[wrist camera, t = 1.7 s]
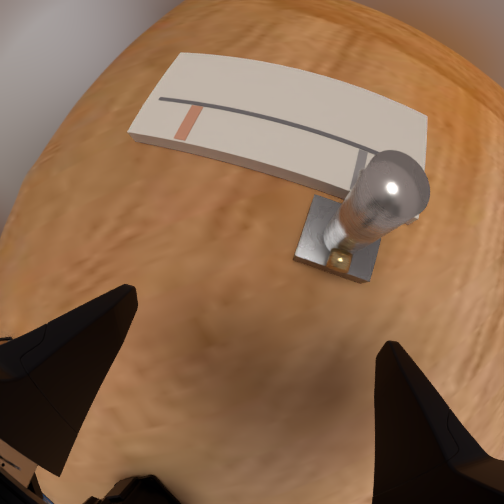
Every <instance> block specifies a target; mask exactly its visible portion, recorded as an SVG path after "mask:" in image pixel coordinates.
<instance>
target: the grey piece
mask: <svg viewBox="0 0 504 504" xmlns="http://www.w3.org/2000/svg"><path fill="white" fill-rule="evenodd" d="M429 197H430V186H429V182H428V178H427V176H426V174H425V172H424V170H423V169H422V167H421V166H420V165H419V164H418V163H417V162H416V161H415V160H414V159H413V158H412V157H410V156H409V155H407V154H405V153H403V152H400V151H396V150H385V151H381V152H379V153H377V154H376V155H375V156H374V157H373V158H372V159H371V161H370V162H369V164H368V165H367V167H366V168H365V169H364V168H361V169H360V170H359V174H358V179H357V182H356V183H355V185H354V186H353V188H352V189H351V191H350V192H349V194H348V195H347V197H346V198H345V200H344V201H343V203H342V204H341V203H338V202H335V201H332V200H330V199H327V198H324V197H321V196H318V195H314V198H313V200H312V203H311V206H310V209H309V212H308V215H307V218H306V221H305V225H304V228H303V231H302V234H301V237H300V240H299V243H298V246H297V249H296V252H295V255H294V258H293V260H294V261H297V262H300V263H303V264H306V265H308V266H311V267H314V268H317V269H320V270H323V271H326V272H329V273H331V274H334V275H337V276H340V277H343V278H346V279H349V280H351V281H354V282H357V283H365V282H370V279H371V275H372V272H373V268H374V264H375V261H376V257H377V253H378V249H379V245H380V241H381V237H383V236H385V235H386V234H388V233H389V232H391V231H393V230H394V229H396V228H398V227H399V226H401V225H402V224H404V223H406V222H407V221H409V220H410V219H412V218H413V217H415V216H417V215H418V214H420V213H421V212H422V211H423V210H424V209H425V208H426V206H427V204H428V201H429Z"/></svg>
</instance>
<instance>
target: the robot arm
mask: <svg viewBox="0 0 504 504" xmlns="http://www.w3.org/2000/svg"><path fill="white" fill-rule="evenodd" d="M137 308H138V300H137V293H136V288H135V287H134V286H131V285H128V284H123V285H121V286H119V287H117V288H115V289H113V290H111V291H109V292H107V293H105V294H103V295H101V296H99V297H97V298H95V299H93V300H91V301H89V302H87V303H85V304H83V305H81V306H79V307H77V308H75V309H73V310H71V311H69V312H68V313H66V314H64V315H62V316H60V317H58V318H56V319H54V320H52V321H50V322H48V323H47V324H44V325H42V326H41V327H39V328H37V329H35V330H33V331H31V332H29V333H27V334H24V335H22V336H20V337H18V338H15V339H13V340H11V341H8V342H6V343H3V344H1V345H0V504H48V503H46V502H45V501H43V498H44V497H43V494H42V491H41V489H40V486H39V483H38V480H37V477H36V474H35V470H36V468H37V466H38V465H39V466H41V467H42V468H44V469H46V470H47V471H49V472H51V473H52V474H54V475H56V476H58V477H60V475H61V473H62V471H63V468H64V466H65V463H66V461H67V458H68V456H69V454H70V451H71V449H72V447H73V444H74V442H75V440H76V437H77V435H78V434H77V433H79V430H80V428H81V426H82V424H83V422H84V419H85V417H86V415H87V413H88V411H89V409H90V407H91V405H92V403H93V401H94V399H95V397H96V394H97V392H98V390H99V388H100V386H101V384H102V383H103V381H104V379H105V377H106V375H107V373H108V371H109V369H110V367H111V365H112V363H113V361H114V359H115V358H116V356H117V354H118V352H119V350H120V348H121V346H122V344H123V342H124V340H125V337H126V335H127V332H128V330H129V328H130V325H131V323H132V320H133V318H134V316H135V313H136V311H137ZM374 408H375V468H374V487H373V498H372V504H504V461H503V460H498V459H495V458H493V457H491V456H489V455H488V454H487V453H486V452H485V451H484V450H483V449H482V447H481V446H480V445H479V444H478V443H477V442H476V440H475V439H474V438H473V437H472V436H471V434H470V433H469V432H468V431H467V430H466V428H465V427H464V426H463V425H462V424H461V422H460V421H459V420H458V418H457V417H456V416H455V414H454V413H453V412H452V410H451V409H449V406H448V405H447V404H446V402H445V401H444V399H443V398H442V397H441V396H440V394H439V393H438V392H437V390H436V389H435V388H434V386H433V385H432V384H431V382H430V381H429V380H428V379H427V377H426V376H425V375H424V373H423V372H422V371H421V370H420V368H419V367H418V366H417V365H416V363H415V362H414V361H413V360H412V358H411V357H410V356H409V355H408V353H407V352H406V351H405V350H404V349H403V347H402V346H401V345H400V344H399V343H398V342H397V341H387V342H386V343H385V344H384V346H383V347H382V349H381V350H380V352H379V353H378V355H377V357H376V367H375V389H374ZM152 479H153V480H152ZM83 504H181V503H180V502H179V501H178V500H177V499H176V498H175V497H174V496H173V495H172V494H171V493H170V492H169V491H168V490H167V489H166V488H165V487H164V486H163V485H162V484H161V483H160V481H159V480H158V479H157V478H156V477H155V476H153V475H148V476H144V477H140V478H136V477H133V478H129V479H125V480H120V481H119V482H118V483H116V484H115V485H114V487H113V489H112V490H111V491H110V492H109V493H108V494H107V495H106V496H105V497H104V498H103V499H99V498H98V499H97V498H95V497H93V496H91V497H90V498H88V499H87V500H86V501H85V502H84V503H83Z"/></svg>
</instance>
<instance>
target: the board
mask: <svg viewBox="0 0 504 504" xmlns="http://www.w3.org/2000/svg"><path fill="white" fill-rule="evenodd" d="M128 133H129V135H130V136H131V137H132V138H133V139H134V140H135V142H141V143H146V144H151V145H156V146H160V147H165V148H170V149H174V150H179V151H183V152H187V153H191V154H196V155H200V156H204V157H208V158H212V159H216V160H220V161H223V162H227V163H231V164H235V165H238V166H242V167H245V168H249V169H252V170H256V171H259V172H263V173H266V174H269V175H273V176H276V177H279V178H282V179H286V180H289V181H292V182H295V183H298V184H301V185H304V186H307V187H310V188H313V189H316V190H319V191H322V192H325V193H328V194H330V195H333V196H336V197H339V198H342V199H344V200H345V198H346V197H347V195H348V194H349V192H350V191H351V189H352V188H353V186H354V185H355V183H356V182H357V179H358V174H359V170H360V169H361V168H364V169H365V168H366V167H367V165H368V164H369V162H370V161H371V159H372V158H373V157H374V156H375V155H376V154H377V153H379V152H381V151H385V150H396V151H400V152H403V153H405V154H407V155H409V156H410V157H412V158H413V159H414V160H415V161H416V162H417V163H418V164H419V165H420V166H421V167H422V169H423V170H425V159H426V143H427V116H426V115H424V114H422V113H420V112H418V111H416V110H413V109H411V108H409V107H407V106H405V105H403V104H400V103H398V102H396V101H393V100H391V99H389V98H386V97H384V96H381V95H379V94H376V93H374V92H371V91H368V90H366V89H363V88H360V87H357V86H354V85H351V84H348V83H345V82H342V81H339V80H336V79H333V78H329V77H326V76H323V75H319V74H315V73H312V72H308V71H304V70H300V69H296V68H291V67H287V66H282V65H278V64H273V63H267V62H262V61H256V60H250V59H244V58H236V57H229V56H220V55H210V54H197V53H180V54H179V55H178V57H177V58H176V59H175V61H174V62H173V63H172V65H171V66H170V67H169V69H168V70H167V71H166V73H165V74H164V75H163V77H162V78H161V80H160V81H159V83H158V84H157V85H156V87H155V88H154V90H153V91H152V93H151V94H150V96H149V97H148V99H147V100H146V102H145V104H144V105H143V107H142V108H141V110H140V111H139V113H138V115H137V116H136V118H135V120H134V121H133V123H132V125H131V126H130V128H129V130H128ZM418 217H419V214H418V215H417V216H415V217H413V218H412V219H410V220H409V221H407V222H406V223H405V224H407V225H409V224H411V223H412V222H414V221H416V220H417V219H418Z"/></svg>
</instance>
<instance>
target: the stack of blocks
mask: <svg viewBox="0 0 504 504" xmlns="http://www.w3.org/2000/svg"><path fill="white" fill-rule="evenodd" d="M42 494H43V493H42ZM43 497H44V498H43V501H45V502H46V503H48V504H53V503H52V502H51V501H50V500H49V499H48V498H47V497H46V496H45V495H44V494H43Z"/></svg>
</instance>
